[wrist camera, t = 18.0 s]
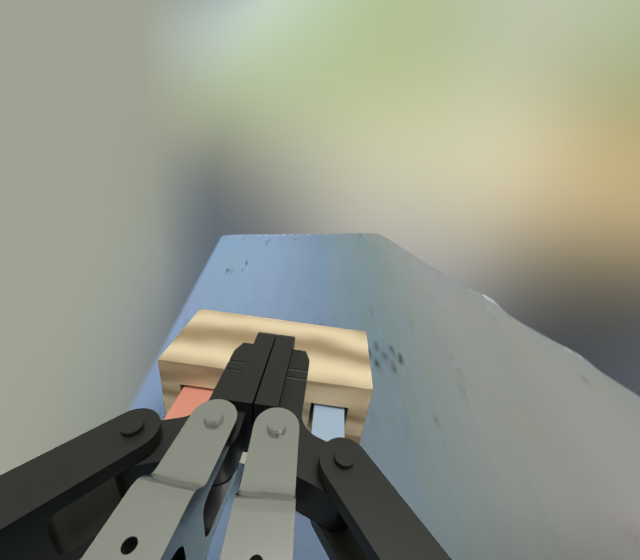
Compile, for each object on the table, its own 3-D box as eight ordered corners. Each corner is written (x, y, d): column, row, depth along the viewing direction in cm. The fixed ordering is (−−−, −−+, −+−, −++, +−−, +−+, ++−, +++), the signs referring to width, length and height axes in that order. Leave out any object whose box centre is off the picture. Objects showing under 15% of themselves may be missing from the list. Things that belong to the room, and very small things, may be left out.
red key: (193, 457, 28) (191, 434, 27) (160, 452, 28) (156, 429, 27) (232, 375, 38) (232, 355, 37) (207, 371, 38) (206, 351, 37)
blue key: (339, 477, 28) (344, 455, 27) (306, 472, 28) (309, 450, 27) (340, 389, 38) (344, 370, 37) (315, 386, 38) (318, 367, 37)
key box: (350, 474, 36) (373, 389, 30) (171, 449, 36) (157, 359, 30) (348, 407, 45) (365, 331, 39) (205, 387, 45) (200, 308, 39)
